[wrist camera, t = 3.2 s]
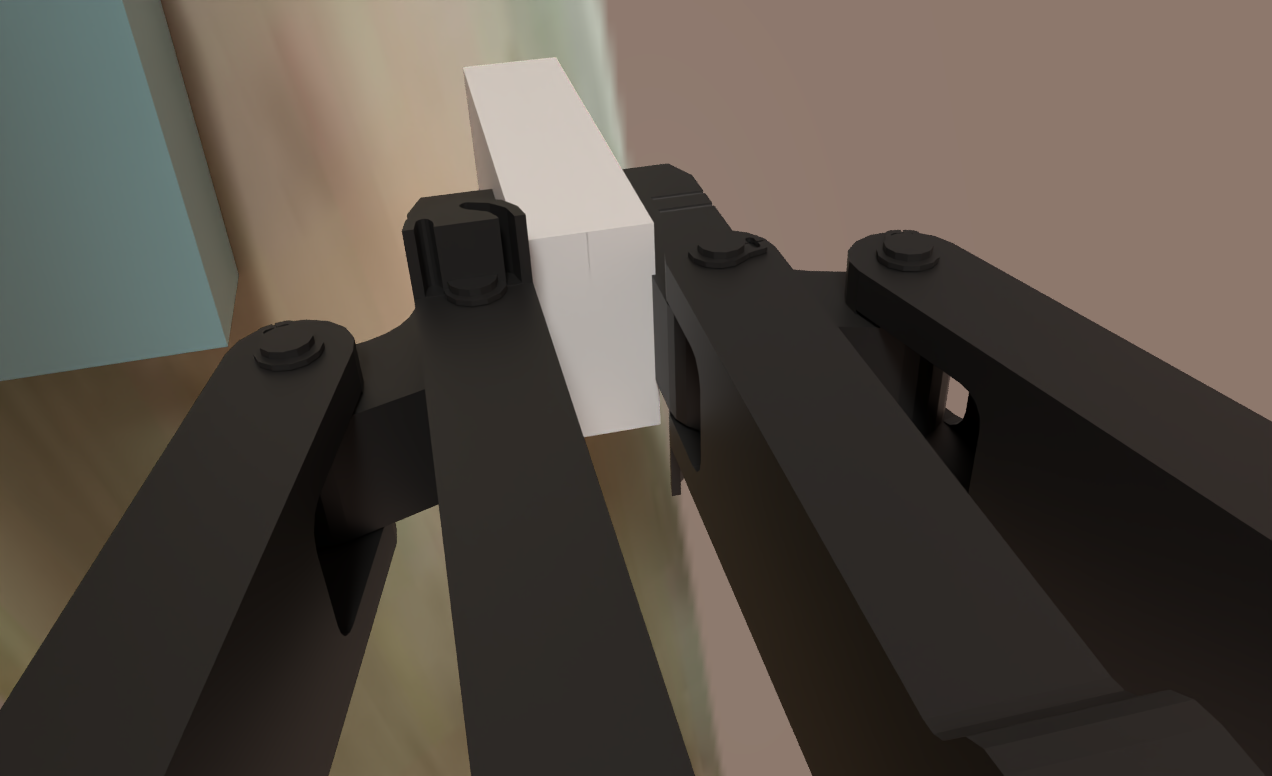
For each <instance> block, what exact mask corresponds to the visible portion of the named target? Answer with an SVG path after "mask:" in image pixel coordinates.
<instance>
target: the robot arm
mask: <svg viewBox="0 0 1272 776" xmlns="http://www.w3.org/2000/svg"><path fill="white" fill-rule="evenodd" d="M463 72H464V80H465V87H466V95H467V102H468V110H469V118H470V125H471V133H472V140H473V148H474V155H475V163H476V170H477V178H478V185H479V190H478V191H470V192H462V193H454V194H447V195H439V196H431V197H423V198H420V199H419V200H418V202H417V203H416V204H415V205H414V207H413V208H412V209H411V210H410V212H409V213H408V214H407V220H406V221H405V224H404V226H403V229H402V235H403V240H404V246H405V251H406V257H407V262H408V268H409V273H410V279H411V284H412V290H413V295H414V302H415V310H414V311H413V313H412V314H411V316H410V317H409V318H408V319H407V320H406V321H405V322H403V323H402V324H401V325H400V326H398V327H397V328H395V329H393V330H391V331H390V332H388V333H386V334H384V335H381V336H379V337H376V338H374V339H371V340H369V341H366V342H362V343H359V344H355V340H354V337H353V336H352V335H351V333H350V332H349V331H348V330H347V329H346V328H345V327H343V326H340V325H337V324H335V323H332V322H329V321H319V320H299V321H283V322H278V323H275V325H272V324H271V325H268V326H265V327H263V328H260V329H259V330H258V331H256V332H254V333H252V334H250V335H248V336H247V337H245V338H243V339H241V340H239V341H238V342H237V343H236V344H235V345H234V346H233V347H232V348H231V349H230V350H229V351H228V352H227V353H226V354H225V356H224V357H223V359H222V360H221V362H220V364H219V365H218V367H217V368H216V370H215V371H214V373H213V375H212V376H211V378H210V379H209V381H208V382H207V384H206V386H205V387H204V389H203V390H202V392H201V394H200V395H199V397H198V398H197V400H196V401H195V403H194V405H193V406H192V408H191V409H190V411H189V412H188V414H187V416H186V417H185V419H184V420H183V422H182V424H181V425H180V427H179V428H178V430H177V431H176V433H175V435H174V436H173V438H172V439H171V441H170V442H169V444H168V446H167V447H166V449H165V450H164V452H163V454H162V455H161V457H160V458H159V460H158V461H157V463H156V465H155V466H154V468H153V469H152V471H151V472H150V474H149V476H148V477H147V479H146V480H145V482H144V484H143V485H142V487H141V488H140V490H139V491H138V493H137V495H136V496H135V498H134V499H133V501H132V503H131V504H130V506H129V507H128V509H127V510H126V512H125V514H124V515H123V517H122V518H121V520H120V521H119V523H118V525H117V526H116V528H115V529H114V531H113V533H112V534H111V536H110V537H109V539H108V540H107V542H106V544H105V545H104V547H103V548H102V550H101V551H100V553H99V555H98V556H97V558H96V559H95V561H94V563H93V564H92V566H91V567H90V569H89V570H88V572H87V574H86V575H85V577H84V578H83V580H82V581H81V583H80V585H79V586H78V588H77V589H76V591H75V593H74V594H73V596H72V597H71V599H70V600H69V602H68V604H67V605H66V607H65V608H64V610H63V612H62V613H61V615H60V616H59V618H58V619H57V621H56V623H55V624H54V626H53V627H52V629H51V630H50V632H49V634H48V635H47V637H46V638H45V640H44V642H43V643H42V645H41V646H40V648H39V649H38V651H37V653H36V654H35V656H34V657H33V659H32V660H31V662H30V664H29V665H28V667H27V668H26V670H25V672H24V673H23V675H22V676H21V678H20V679H19V681H18V683H17V684H16V686H15V687H14V689H13V690H12V692H11V694H10V695H9V697H8V698H7V700H6V702H5V703H4V705H3V706H2V708H1V709H0V776H328V775H329V772H330V769H331V765H332V762H333V758H334V755H335V752H336V748H337V745H338V741H339V738H340V735H341V731H342V728H343V724H344V721H345V717H346V714H347V711H348V707H349V704H350V700H351V697H352V694H353V690H354V687H355V683H356V680H357V676H358V673H359V670H360V666H361V663H362V659H363V656H364V653H365V649H366V646H367V642H368V639H369V636H370V632H371V629H372V625H373V622H374V618H375V615H376V612H377V608H378V605H379V601H380V598H381V595H382V591H383V588H384V584H385V581H386V577H387V574H388V571H389V567H390V564H391V560H392V557H393V554H394V550H395V547H396V543H397V528H396V523H395V522H397V521H399V520H402V519H404V518H406V517H409V516H411V515H414V514H416V513H419V512H421V511H423V510H426V509H428V508H431V507H433V506H435V505H438V504H439V511H440V519H441V527H442V536H443V544H444V552H445V561H446V569H447V577H448V586H449V594H450V603H451V611H452V619H453V628H454V636H455V644H456V653H457V661H458V669H459V678H460V686H461V695H462V703H463V711H464V720H465V728H466V736H467V745H468V753H469V761H470V770H471V776H695V774H694V771H693V768H692V765H691V762H690V759H689V756H688V753H687V750H686V747H685V744H684V741H683V738H682V735H681V732H680V729H679V726H678V723H677V720H676V717H675V714H674V711H673V707H672V704H671V701H670V698H669V695H668V692H667V689H666V686H665V683H664V680H663V677H662V674H661V671H660V668H659V665H658V662H657V659H656V656H655V653H654V650H653V647H652V643H651V640H650V637H649V634H648V631H647V628H646V625H645V622H644V619H643V616H642V613H641V610H640V607H639V604H638V601H637V598H636V595H635V592H634V589H633V586H632V583H631V579H630V576H629V573H628V570H627V567H626V564H625V561H624V558H623V555H622V552H621V549H620V546H619V543H618V540H617V537H616V534H615V531H614V528H613V525H612V522H611V519H610V515H609V512H608V509H607V506H606V503H605V500H604V497H603V494H602V491H601V488H600V485H599V482H598V479H597V476H596V473H595V470H594V467H593V464H592V461H591V458H590V455H589V451H588V448H587V445H586V442H585V439H584V437H588V436H594V435H600V434H606V433H612V432H618V431H624V430H630V429H636V428H641V427H647V426H653V425H659V424H660V394H659V388H660V390H661V393H662V395H663V397H664V399H665V401H666V404H667V406H668V408H669V433H670V469H671V490H672V496H675V495H681V481H682V480H683V478H684V479H685V481H686V483H687V486H688V488H689V490H690V493H691V495H692V497H693V499H694V502H695V504H696V507H697V509H698V511H699V513H700V516H701V518H702V520H703V523H704V525H705V527H706V530H707V532H708V534H709V537H710V539H711V541H712V544H713V546H714V548H715V551H716V553H717V555H718V558H719V560H720V562H721V564H722V567H723V569H724V572H725V574H726V576H727V578H728V581H729V583H730V585H731V588H732V590H733V592H734V595H735V597H736V599H737V602H738V604H739V606H740V609H741V611H742V613H743V616H744V618H745V620H746V622H747V625H748V627H749V630H750V632H751V634H752V637H753V639H754V641H755V643H756V646H757V648H758V650H759V653H760V655H761V657H762V660H763V662H764V664H765V666H766V669H767V671H768V674H769V676H770V678H771V681H772V683H773V685H774V688H775V690H776V692H777V694H778V697H779V699H780V702H781V704H782V706H783V708H784V711H785V713H786V715H787V718H788V720H789V722H790V725H791V727H792V729H793V732H794V734H795V736H796V738H797V741H798V743H799V746H800V748H801V750H802V752H803V755H804V757H805V759H806V762H807V764H808V767H809V769H810V771H811V773H812V776H1272V422H1271V421H1270V420H1268V419H1266V418H1264V417H1263V416H1261V415H1259V414H1257V413H1255V412H1253V411H1252V410H1250V409H1248V408H1247V407H1245V406H1243V405H1241V404H1239V403H1238V402H1235V401H1234V400H1232V399H1230V398H1228V397H1227V396H1225V395H1223V394H1221V393H1220V392H1218V391H1216V390H1214V389H1213V388H1211V387H1209V386H1207V385H1205V384H1204V383H1202V382H1200V381H1198V380H1196V379H1194V378H1193V377H1191V376H1189V375H1188V374H1186V373H1184V372H1182V371H1180V370H1178V369H1177V368H1175V367H1173V366H1171V365H1170V364H1168V363H1166V362H1164V361H1162V360H1161V359H1159V358H1157V357H1155V356H1154V355H1152V354H1150V353H1148V352H1146V351H1145V350H1143V349H1141V348H1139V347H1137V346H1136V345H1134V344H1132V343H1130V342H1128V341H1127V340H1125V339H1123V338H1121V337H1120V336H1118V335H1116V334H1114V333H1112V332H1111V331H1109V330H1107V329H1105V328H1103V327H1102V326H1100V325H1098V324H1096V323H1095V322H1092V321H1091V320H1089V319H1087V318H1086V317H1084V316H1082V315H1080V314H1078V313H1077V312H1074V311H1073V310H1071V309H1069V308H1068V307H1065V306H1064V305H1062V304H1061V303H1059V302H1057V301H1055V300H1053V299H1052V298H1050V297H1048V296H1046V295H1044V294H1043V293H1040V292H1039V291H1037V290H1036V289H1034V288H1032V287H1030V286H1028V285H1027V284H1025V283H1023V282H1021V281H1019V280H1018V279H1016V278H1014V277H1012V276H1010V275H1009V274H1007V273H1005V272H1003V271H1002V270H1000V269H998V268H996V267H994V266H993V265H991V264H989V263H987V262H985V261H984V260H982V259H980V258H978V257H976V256H975V255H973V254H971V253H969V252H967V251H966V250H964V249H962V248H960V247H959V246H957V245H955V244H953V243H951V242H948V241H946V240H943V239H941V238H938V237H936V236H932V235H926V234H921V233H919V232H917V231H914V230H913V231H912V230H903V232H901V230H890V231H887V232H886V233H880V234H875V235H870V236H867V237H865V238H863V239H861V240H858V241H856V242H855V243H854V244H853V245H852V247H851V248H850V249H849V250H848V259H847V271H846V272H829V271H803V270H793V269H792V268H791V266H790V265H789V264H788V262H787V261H786V260H785V259H784V257H783V256H782V255H781V254H780V252H779V251H778V250H777V248H776V247H775V246H774V245H772V244H771V243H770V242H768V241H767V240H766V239H764V238H761V237H758V236H756V235H753V234H750V233H747V232H739V231H732V230H731V228H730V227H729V225H728V224H727V223H726V221H725V220H724V218H723V217H722V216H721V214H720V213H719V212H718V210H717V209H716V208H715V206H712V202H711V201H710V200H709V198H708V197H707V195H706V194H705V193H703V190H702V188H701V187H700V186H699V184H698V183H697V181H696V180H695V179H694V177H693V176H692V175H691V174H688V173H686V172H684V171H682V170H680V169H678V168H676V167H674V166H672V165H670V164H660V165H653V166H645V167H637V168H629V169H622V168H621V167H620V165H619V163H618V161H617V160H616V158H615V156H614V155H613V153H612V151H611V150H610V148H609V146H608V145H607V143H606V141H605V139H604V138H603V136H602V134H601V133H600V131H599V129H598V128H597V126H596V124H595V123H594V121H593V119H592V117H591V116H590V114H589V112H588V111H587V109H586V107H585V106H584V104H583V102H582V101H581V99H580V97H579V95H578V94H577V92H576V90H575V89H574V87H573V85H572V84H571V82H570V80H569V79H568V77H567V75H566V73H565V72H564V70H563V68H562V67H561V65H560V63H559V62H558V60H557V58H556V57H553V58H543V59H534V60H525V61H515V62H506V63H497V64H488V65H478V66H469V67H463ZM950 376H951V377H952V378H954V379H955V380H956V381H958V382H959V383H961V384H962V385H963V386H964V387H965V388H966V389H967V390H968V391H969V396H968V402H967V408H966V413H965V415H964V418H963V419H962V418H960V417H958V416H956V415H955V414H953V413H952V412H951V411H949V410H948V409H947V408H945V406H946V400H947V394H948V387H949V380H950Z"/></svg>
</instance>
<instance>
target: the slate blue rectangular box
mask: <svg viewBox="0 0 1272 776" xmlns="http://www.w3.org/2000/svg"><path fill="white" fill-rule="evenodd" d="M238 278H239V274H238V270H237V267H236V263H235V260H234V256H233V253H232V249H231V246H230V242H229V239H228V235H227V232H226V228H225V225H224V221H223V218H222V214H221V211H220V207H219V204H218V200H217V197H216V193H215V190H214V186H213V183H212V179H211V176H210V172H209V169H208V165H207V162H206V158H205V155H204V151H203V148H202V144H201V141H200V137H199V134H198V130H197V127H196V123H195V120H194V116H193V113H192V109H191V106H190V102H189V99H188V95H187V92H186V88H185V85H184V81H183V78H182V74H181V71H180V67H179V64H178V60H177V57H176V53H175V50H174V46H173V43H172V39H171V35H170V32H169V28H168V25H167V21H166V18H165V14H164V11H163V7H162V4H161V0H0V381H5V380H12V379H18V378H25V377H31V376H38V375H44V374H51V373H57V372H64V371H71V370H77V369H84V368H90V367H97V366H103V365H110V364H116V363H123V362H130V361H136V360H143V359H149V358H156V357H162V356H169V355H175V354H182V353H188V352H195V351H202V350H208V349H215V348H221V347H228V342H229V336H230V329H231V323H232V317H233V310H234V304H235V297H236V291H237V284H238Z"/></svg>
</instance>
